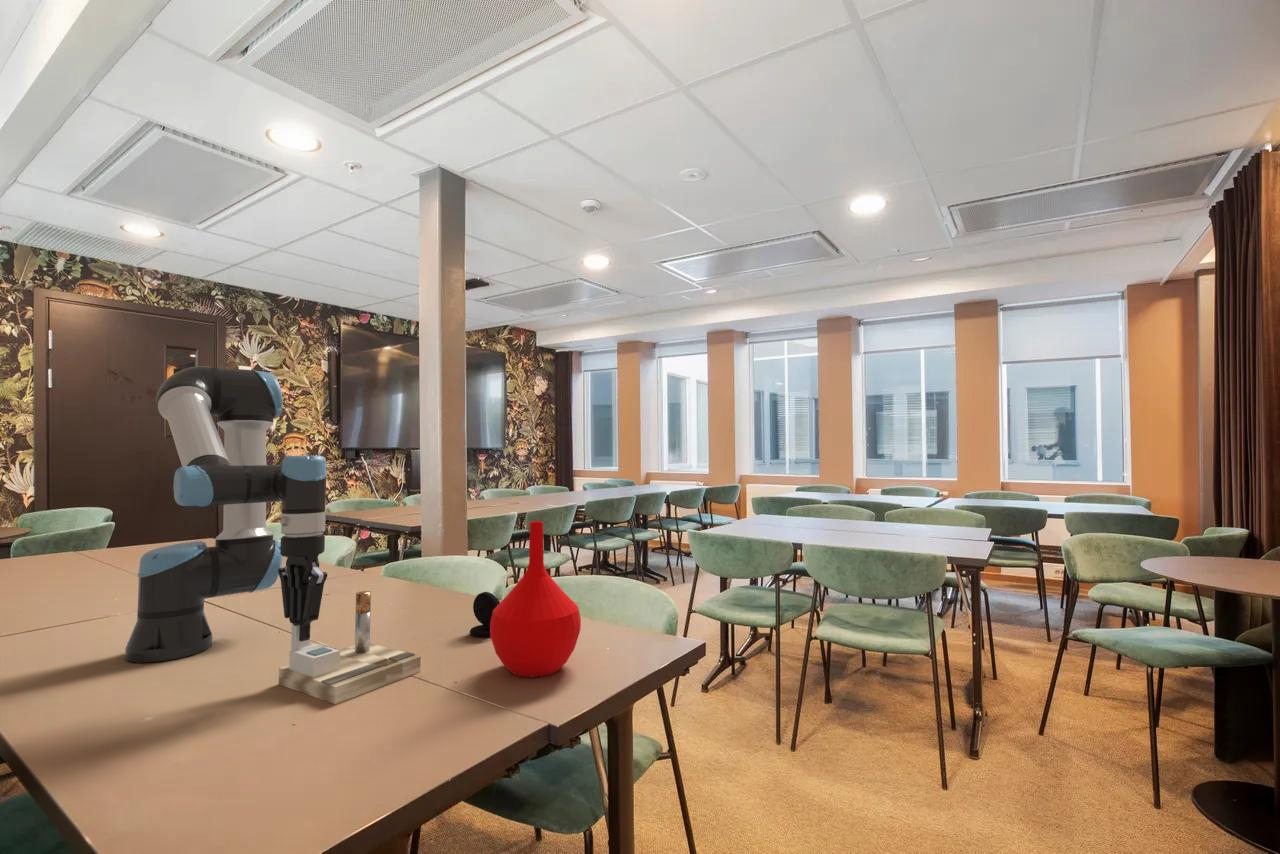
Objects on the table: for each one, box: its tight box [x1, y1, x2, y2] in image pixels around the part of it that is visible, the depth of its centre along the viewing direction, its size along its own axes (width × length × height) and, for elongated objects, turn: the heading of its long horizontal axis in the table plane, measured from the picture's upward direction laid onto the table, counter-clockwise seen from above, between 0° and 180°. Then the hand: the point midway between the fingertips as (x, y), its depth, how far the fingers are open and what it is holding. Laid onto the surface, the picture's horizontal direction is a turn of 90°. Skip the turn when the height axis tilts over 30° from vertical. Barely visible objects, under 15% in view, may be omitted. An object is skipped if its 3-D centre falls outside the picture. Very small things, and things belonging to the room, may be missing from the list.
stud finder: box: [288, 643, 340, 678], centre depth 112 cm, size 8×5×4 cm, turn 60°
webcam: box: [469, 591, 501, 639], centre depth 144 cm, size 8×8×10 cm
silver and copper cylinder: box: [354, 590, 372, 653], centre depth 122 cm, size 3×3×12 cm
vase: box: [489, 520, 582, 678], centre depth 121 cm, size 18×18×30 cm
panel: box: [278, 642, 422, 705], centre depth 115 cm, size 18×18×3 cm
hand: (300, 656), depth 114 cm, fingers closed
